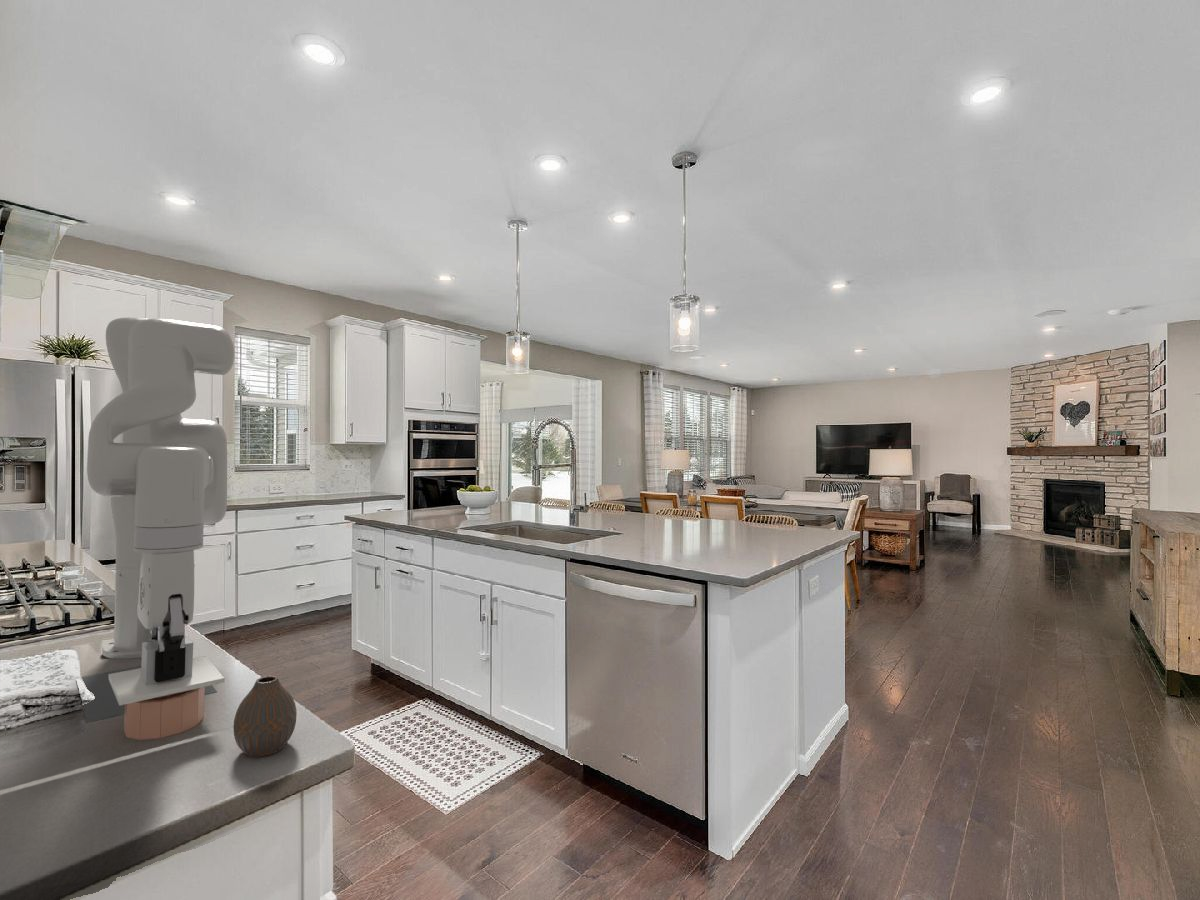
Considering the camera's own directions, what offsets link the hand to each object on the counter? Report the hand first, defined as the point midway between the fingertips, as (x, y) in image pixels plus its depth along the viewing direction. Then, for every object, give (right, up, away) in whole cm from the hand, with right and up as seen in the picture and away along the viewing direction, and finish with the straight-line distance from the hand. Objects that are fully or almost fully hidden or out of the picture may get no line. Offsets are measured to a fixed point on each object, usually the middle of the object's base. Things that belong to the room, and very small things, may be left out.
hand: (166, 672), depth 79 cm
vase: (+16, -8, -5) cm, 19 cm away
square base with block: (0, -1, 0) cm, 1 cm away
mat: (-12, -7, +12) cm, 18 cm away
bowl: (0, -7, 0) cm, 7 cm away
